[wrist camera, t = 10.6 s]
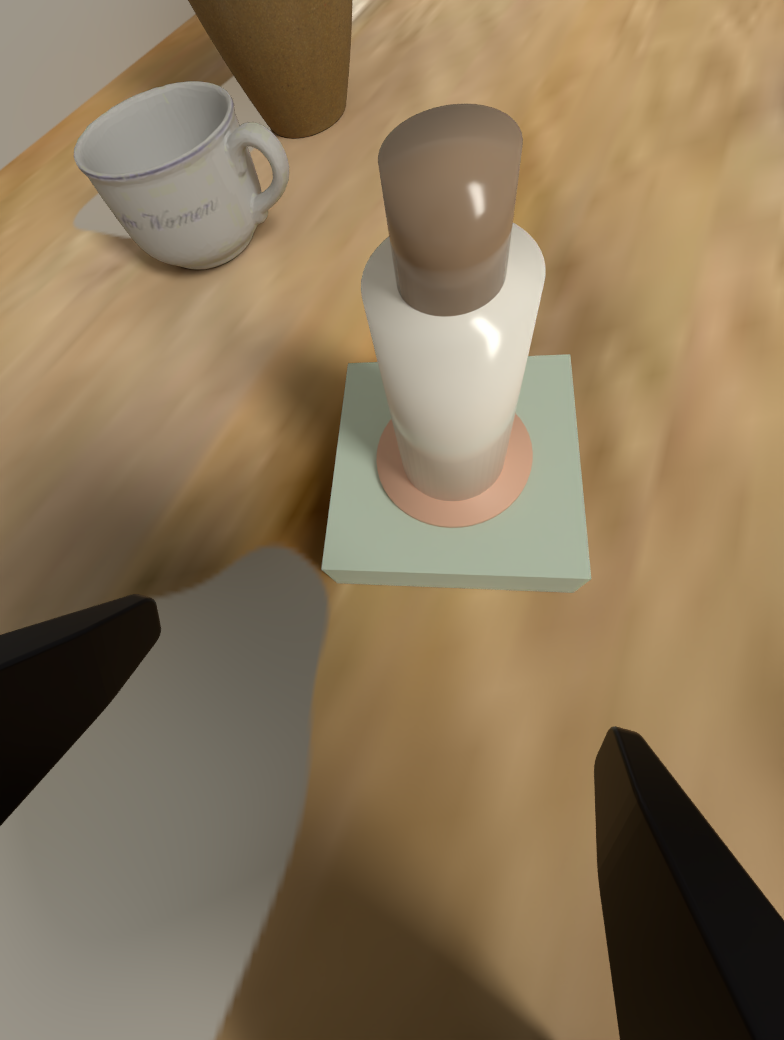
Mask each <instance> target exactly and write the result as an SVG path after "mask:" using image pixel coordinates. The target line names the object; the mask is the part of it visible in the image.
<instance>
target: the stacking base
mask: <svg viewBox="0 0 784 1040" xmlns="http://www.w3.org/2000/svg"><path fill="white" fill-rule="evenodd" d="M322 570H323V571H324V572H325V573H326V574H327V575H329V576H330V577H331V578H332V579H333V580H335V581H336V582H337V583H347V584H371V585H396V586H421V587H445V588H470V589H495V590H519V591H544V592H569V593H573V592H575V591H576V590H577V589H579V588H580V587H581V586H583V585H584V584H585V583H587V582H588V581H589V580H591V572H590V561H589V550H588V540H587V529H586V518H585V508H584V497H583V486H582V476H581V465H580V454H579V444H578V433H577V422H576V412H575V401H574V390H573V379H572V369H571V358H570V355H545V356H528V358H527V362H526V367H525V371H524V376H523V380H522V385H521V389H520V394H519V399H518V403H517V408H516V412H515V417H514V421H513V426H512V430H511V435H510V439H509V444H508V448H507V453H506V457H505V462H504V466H503V469H502V472H501V474H500V476H499V477H498V479H497V480H496V481H495V483H494V484H493V485H492V486H491V487H490V488H489V489H487V490H486V491H485V492H483V493H481V494H480V495H478V496H475V497H473V498H470V499H467V500H462V501H443V500H438V499H435V498H432V497H429V496H427V495H425V494H424V493H422V492H420V491H419V490H418V489H417V488H416V487H415V486H414V485H413V484H412V483H411V482H410V480H409V479H408V477H407V475H406V473H405V471H404V467H403V464H402V459H401V455H400V451H399V447H398V443H397V439H396V435H395V431H394V427H393V422H392V418H391V414H390V410H389V406H388V402H387V398H386V394H385V390H384V386H383V381H382V377H381V373H380V369H379V365H378V362H370V363H348V368H347V376H346V383H345V391H344V399H343V407H342V414H341V422H340V430H339V438H338V445H337V453H336V461H335V468H334V476H333V484H332V492H331V499H330V507H329V515H328V523H327V530H326V538H325V546H324V553H323V561H322Z"/></svg>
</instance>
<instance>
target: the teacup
mask: <svg viewBox="0 0 784 1040" xmlns="http://www.w3.org/2000/svg"><path fill="white" fill-rule="evenodd" d="M247 146H252V147H254V148H256V149H258V150H260V151H261V152H262V153H263V155H264V156H265V157H266V158H267V159H268V161H269V163H270V165H271V167H272V171H273V180H272V183H271V185H270V186H269V187H268V188H267V189H266V190H265V191H264V192H262V193H261V187H260V183H259V180H258V176H257V173H256V170H255V167H254V164H253V161H252V158H251V155H250V152H249V149H248V147H247ZM74 158H75V161H76V164H77V166H78V167H79V169H80V170H81V171H82V172H83V173H84V174H85V175H86V176H87V177H88V178H89V179H90V181H91V182H92V184H93V185H94V187H95V188H96V190H97V191H98V193H99V194H100V195H101V197H102V199H103V200H104V201H105V203H106V204H107V205H108V207H109V208H110V210H111V211H112V212H113V214H114V215H115V217H116V218H117V219H118V221H119V222H120V223H121V225H122V226H123V227H124V229H125V230H126V231H127V233H128V234H129V235H130V236H131V238H132V239H133V240H134V241H135V242H136V243H137V245H138V246H139V247H141V248H142V249H143V250H144V251H145V252H146V253H147V254H149V255H150V256H152V257H153V258H155V259H157V260H159V261H161V262H164V263H167V264H171V265H176V266H181V267H184V268H188V269H208V268H213V267H216V266H219V265H221V264H224V263H226V262H228V261H230V260H232V259H233V258H235V257H236V256H237V255H239V254H240V253H241V252H242V251H243V250H244V249H245V248H246V246H247V245H248V244H249V242H250V240H251V239H252V236H253V234H254V231H255V229H256V227H257V225H258V224H260V223H263V222H264V221H265V219H266V218H267V216H268V209H270V208H271V207H272V206H273V205H274V204H275V203H276V202H277V201H278V200H279V199H280V197H281V196H282V194H283V193H284V191H285V189H286V186H287V183H288V180H289V163H288V159H287V156H286V153H285V150H284V149H283V147H282V145H281V143H280V141H279V140H278V138H277V137H276V136H275V135H274V134H273V133H272V132H271V131H270V130H269V129H268V128H266V127H265V126H263V125H261V124H258V123H254V122H248V123H243V124H242V125H239V122H238V120H237V117H236V114H235V110H234V103H233V100H232V98H231V96H230V95H229V93H228V92H227V91H226V90H225V89H223V88H222V87H220V86H217V85H215V84H212V83H207V82H199V81H188V82H177V83H173V84H168V85H165V86H163V87H157V88H153V89H151V90H148V91H145V92H143V93H140V94H137V95H135V96H133V97H130V98H128V99H127V100H125V101H123V102H121V103H119V104H117V105H116V106H114V107H112V108H111V109H110V110H108V111H107V112H106V113H104V114H102V115H101V116H100V117H99V118H98V119H96V120H95V121H93V122H92V123H91V124H90V125H88V126H87V128H86V130H85V131H84V132H83V134H82V135H81V136H80V137H79V139H78V141H77V144H76V146H75V148H74Z"/></svg>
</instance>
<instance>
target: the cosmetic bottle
mask: <svg viewBox="0 0 784 1040" xmlns="http://www.w3.org/2000/svg"><path fill="white" fill-rule="evenodd" d="M522 144H523V138H522V132H521V130H520V128H519V126H518V125H517V123H516V122H515V121H514V120H513V119H512V118H511V117H510V116H508V115H507V114H505V113H504V112H502V111H500V110H497V109H495V108H492V107H488V106H484V105H477V104H453V105H446V106H440V107H436V108H432V109H429V110H426V111H423V112H421V113H419V114H416V115H414V116H412V117H411V118H409V119H407V120H405V121H404V122H402V123H401V124H400V125H398V126H397V127H396V128H395V129H394V130H393V131H392V132H390V134H389V135H388V136H387V137H386V138H385V140H384V142H383V143H382V145H381V148H380V150H379V155H378V165H379V171H380V178H381V185H382V191H383V198H384V205H385V211H386V218H387V225H388V232H389V237H388V238H386V239H385V240H384V241H383V242H382V243H381V244H380V245H379V246H378V247H377V248H376V250H375V251H374V252H373V254H372V255H371V256H370V258H369V260H368V262H367V264H366V266H365V269H364V271H363V275H362V280H361V293H362V299H363V303H364V307H365V312H366V316H367V320H368V324H369V328H370V332H371V336H372V340H373V344H374V349H375V353H376V357H377V361H378V365H379V369H380V373H381V377H382V381H383V386H384V390H385V394H386V398H387V402H388V406H389V410H390V414H391V418H392V422H393V427H394V431H395V435H396V439H397V443H398V447H399V451H400V455H401V459H402V464H403V467H404V471H405V473H406V475H407V477H408V479H409V480H410V482H411V483H412V484H413V485H414V486H415V487H416V488H417V489H418V490H419V491H420V492H422V493H424V494H425V495H427V496H429V497H432V498H435V499H438V500H443V501H462V500H467V499H470V498H473V497H475V496H478V495H480V494H481V493H483V492H485V491H486V490H487V489H489V488H490V487H491V486H492V485H493V484H494V483H495V481H496V480H497V479H498V477H499V476H500V474H501V472H502V469H503V466H504V462H505V457H506V453H507V448H508V444H509V439H510V435H511V430H512V426H513V421H514V417H515V412H516V408H517V403H518V399H519V394H520V389H521V385H522V380H523V376H524V371H525V367H526V362H527V358H528V353H529V349H530V344H531V340H532V335H533V330H534V326H535V321H536V317H537V312H538V308H539V303H540V299H541V294H542V290H543V285H544V280H545V263H544V258H543V255H542V252H541V250H540V248H539V246H538V245H537V243H536V242H535V241H534V239H533V238H532V237H531V236H530V235H529V234H528V233H527V232H526V231H525V230H523V229H522V228H521V227H519V226H518V225H516V224H514V223H513V217H514V209H515V201H516V193H517V185H518V177H519V169H520V161H521V153H522Z"/></svg>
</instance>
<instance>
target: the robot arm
mask: <svg viewBox="0 0 784 1040" xmlns="http://www.w3.org/2000/svg"><path fill="white" fill-rule="evenodd" d="M160 633H161V627H160V621H159V615H158V610H157V605H156V602H155V601H154V599H152V598H150V597H146V596H142V595H139V594H133V595H129V596H126V597H123V598H119V599H116V600H113V601H110V602H106V603H103V604H100V605H97V606H93V607H90V608H87V609H83V610H80V611H77V612H74V613H70V614H67V615H64V616H61V617H57V618H54V619H51V620H48V621H44V622H41V623H38V624H35V625H31V626H28V627H25V628H21V629H18V630H15V631H12V632H8V633H5V634H2V635H0V826H1V825H2V824H3V822H4V821H5V820H6V819H7V818H8V817H9V816H10V815H11V814H12V812H13V811H14V810H15V809H16V808H17V807H18V806H19V805H20V803H21V802H22V801H23V800H24V799H25V798H26V797H27V796H28V795H29V793H30V792H31V791H32V790H33V789H34V788H35V787H36V786H37V785H38V783H39V782H40V781H41V780H42V779H43V778H44V777H45V776H46V774H47V773H48V772H49V771H50V770H51V769H52V768H53V767H54V765H55V764H56V763H57V762H58V761H59V760H60V759H61V758H62V757H63V755H64V754H65V753H66V752H67V751H68V750H69V749H70V748H71V747H72V745H73V744H74V743H75V742H76V741H77V740H78V739H79V738H80V736H81V735H82V734H83V733H84V732H85V731H86V730H87V729H88V728H89V726H90V725H91V724H92V723H93V722H94V721H95V720H96V719H97V717H98V716H99V715H100V714H101V713H102V712H103V711H104V709H105V708H106V707H107V706H108V705H109V704H110V702H111V701H112V700H113V699H114V697H115V696H116V695H117V693H118V692H119V691H120V689H121V688H122V687H123V685H124V684H125V683H126V681H127V680H128V679H129V678H130V676H131V675H132V673H133V672H134V671H135V670H136V668H137V667H138V665H139V664H140V662H142V660H143V659H144V657H145V656H146V655H147V654H148V652H149V651H150V649H151V648H152V647H153V646H154V644H155V643H156V641H157V640H158V638H159V636H160ZM594 785H595V815H596V845H597V868H598V879H599V888H600V896H601V904H602V911H603V918H604V926H605V933H606V940H607V948H608V955H609V962H610V970H611V977H612V984H613V992H614V999H615V1006H616V1014H617V1021H618V1028H619V1035H620V1040H784V920H783V919H782V917H781V916H780V915H779V913H778V912H777V911H776V909H775V908H774V907H773V906H772V904H771V903H770V902H769V900H768V899H767V898H766V897H765V895H764V894H763V893H762V891H761V890H760V889H759V887H758V886H757V885H756V884H755V882H754V881H753V880H752V878H751V877H750V876H749V874H748V873H747V872H746V871H745V869H744V868H743V867H742V865H741V864H740V863H739V862H738V860H737V859H736V858H735V856H734V855H733V854H732V852H731V851H730V850H729V849H728V847H727V846H726V845H725V843H724V842H723V841H722V840H721V838H720V837H719V836H718V834H717V833H716V832H715V830H714V829H713V828H712V827H711V825H710V824H709V823H708V821H707V820H706V819H705V818H704V816H703V815H702V814H701V812H700V811H699V810H698V808H697V807H696V806H695V805H694V803H693V802H692V801H691V799H690V798H689V797H688V796H687V794H686V793H685V792H684V790H683V789H682V788H681V786H680V785H679V784H678V783H677V781H676V780H675V779H674V777H673V776H672V775H671V774H670V772H669V771H668V770H667V768H666V767H665V766H664V764H663V763H662V762H661V761H660V759H659V758H658V757H657V755H656V754H655V753H654V752H653V750H652V749H651V748H650V746H649V745H648V744H647V742H646V741H645V740H644V739H643V737H642V736H641V735H640V734H638V733H637V732H634V731H631V730H627V729H623V728H620V727H616V726H614V727H611V728H610V729H609V730H608V732H607V734H606V736H605V739H604V741H603V743H602V745H601V747H600V750H599V752H598V754H597V756H596V760H595V765H594Z"/></svg>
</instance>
